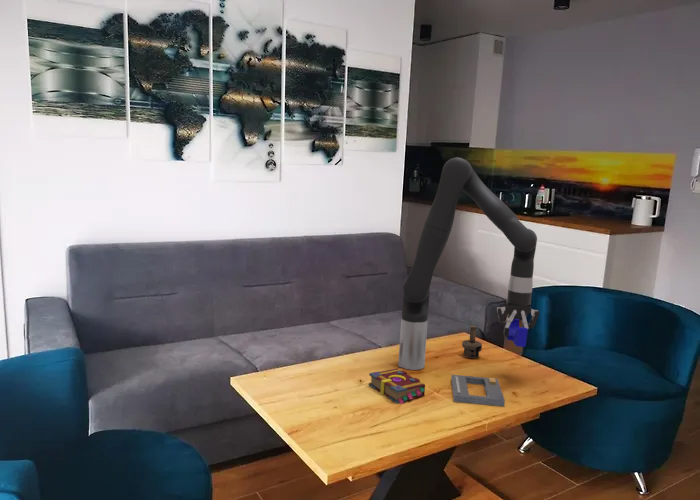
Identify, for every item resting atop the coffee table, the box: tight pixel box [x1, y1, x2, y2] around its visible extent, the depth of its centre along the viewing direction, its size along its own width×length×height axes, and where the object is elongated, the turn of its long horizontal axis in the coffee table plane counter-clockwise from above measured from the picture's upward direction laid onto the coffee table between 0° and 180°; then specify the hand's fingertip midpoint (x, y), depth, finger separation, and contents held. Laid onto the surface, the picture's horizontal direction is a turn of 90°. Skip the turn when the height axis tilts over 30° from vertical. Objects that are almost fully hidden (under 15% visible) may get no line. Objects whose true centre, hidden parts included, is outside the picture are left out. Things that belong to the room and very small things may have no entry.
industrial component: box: [461, 324, 483, 359], centre depth 208 cm, size 9×7×12 cm
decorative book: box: [368, 368, 426, 405], centre depth 174 cm, size 11×16×5 cm
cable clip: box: [503, 319, 529, 348], centre depth 185 cm, size 12×4×6 cm, turn 177°
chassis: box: [450, 374, 506, 407], centre depth 176 cm, size 15×17×3 cm
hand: (514, 338), depth 184 cm, fingers closed on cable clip, 4 cm apart
